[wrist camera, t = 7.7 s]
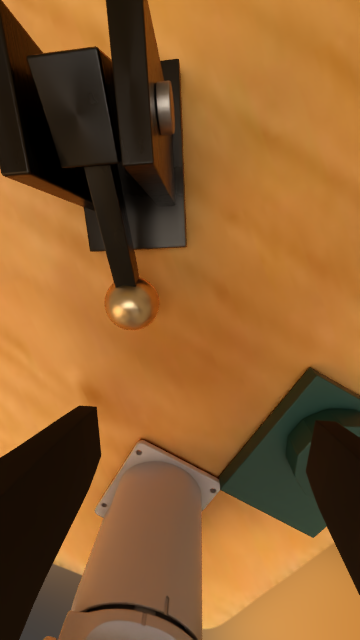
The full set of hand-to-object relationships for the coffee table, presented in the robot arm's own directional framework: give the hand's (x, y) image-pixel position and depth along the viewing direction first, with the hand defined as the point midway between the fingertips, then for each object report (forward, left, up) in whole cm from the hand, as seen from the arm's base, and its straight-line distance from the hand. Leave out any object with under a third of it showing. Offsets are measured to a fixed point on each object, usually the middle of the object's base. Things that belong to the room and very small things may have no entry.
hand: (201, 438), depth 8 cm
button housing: (-4, -12, -9) cm, 16 cm away
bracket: (+7, +9, -9) cm, 15 cm away
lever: (+4, +7, -6) cm, 11 cm away
